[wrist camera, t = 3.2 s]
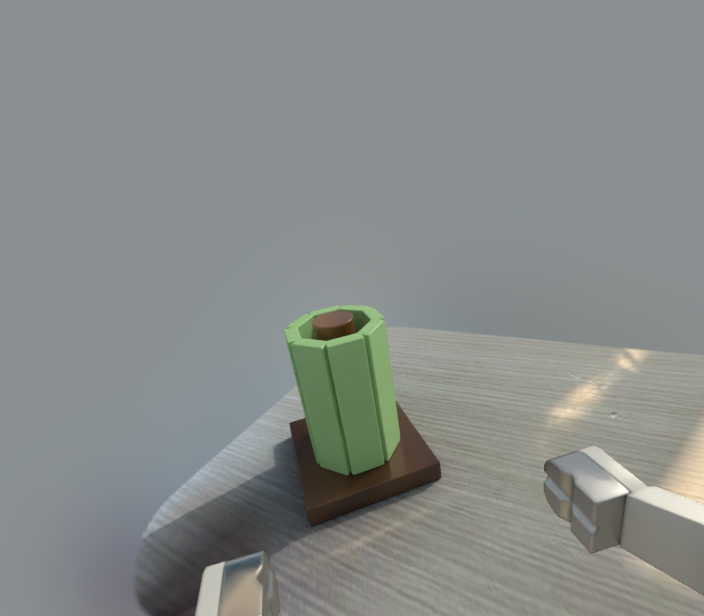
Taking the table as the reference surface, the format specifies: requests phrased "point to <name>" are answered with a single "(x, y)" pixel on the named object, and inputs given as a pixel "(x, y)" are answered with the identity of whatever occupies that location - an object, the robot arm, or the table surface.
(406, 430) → the stand
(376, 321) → the green octagonal tube
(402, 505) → the table surface
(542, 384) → the table surface
